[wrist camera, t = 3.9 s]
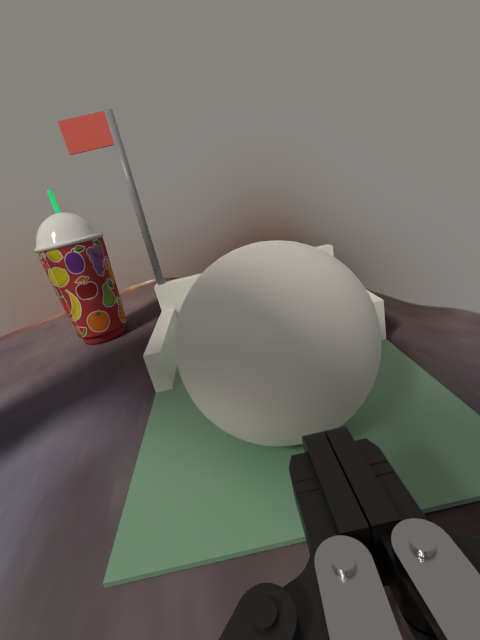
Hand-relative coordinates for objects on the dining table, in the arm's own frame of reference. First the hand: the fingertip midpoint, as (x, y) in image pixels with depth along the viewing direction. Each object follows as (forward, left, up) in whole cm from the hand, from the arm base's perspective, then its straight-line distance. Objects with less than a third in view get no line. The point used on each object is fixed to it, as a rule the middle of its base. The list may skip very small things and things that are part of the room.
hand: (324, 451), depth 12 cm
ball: (0, +10, 0) cm, 10 cm away
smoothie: (-21, +38, -7) cm, 44 cm away
